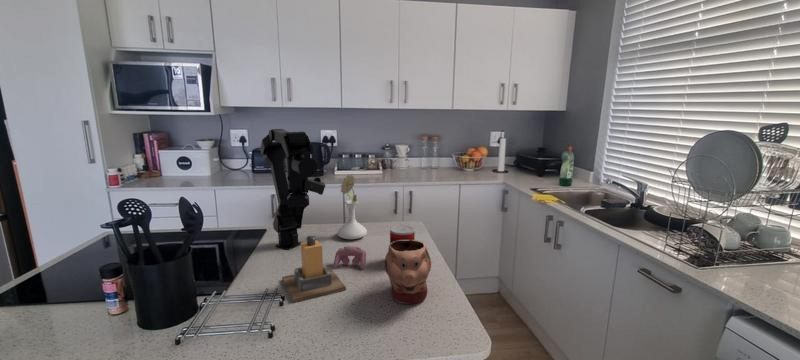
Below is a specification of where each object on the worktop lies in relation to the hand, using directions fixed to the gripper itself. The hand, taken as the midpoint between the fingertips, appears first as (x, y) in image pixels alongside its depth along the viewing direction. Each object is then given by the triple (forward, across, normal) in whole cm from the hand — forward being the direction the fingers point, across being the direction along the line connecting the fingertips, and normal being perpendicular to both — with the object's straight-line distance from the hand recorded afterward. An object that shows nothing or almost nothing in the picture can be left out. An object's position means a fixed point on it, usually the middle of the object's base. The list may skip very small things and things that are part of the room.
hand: (299, 220), depth 116 cm
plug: (+12, -20, -3) cm, 23 cm away
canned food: (+13, -11, -31) cm, 36 cm away
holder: (+13, -20, -3) cm, 24 cm away
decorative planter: (+13, -31, -27) cm, 43 cm away
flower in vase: (+13, +15, -19) cm, 28 cm away
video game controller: (+13, -10, -15) cm, 22 cm away
